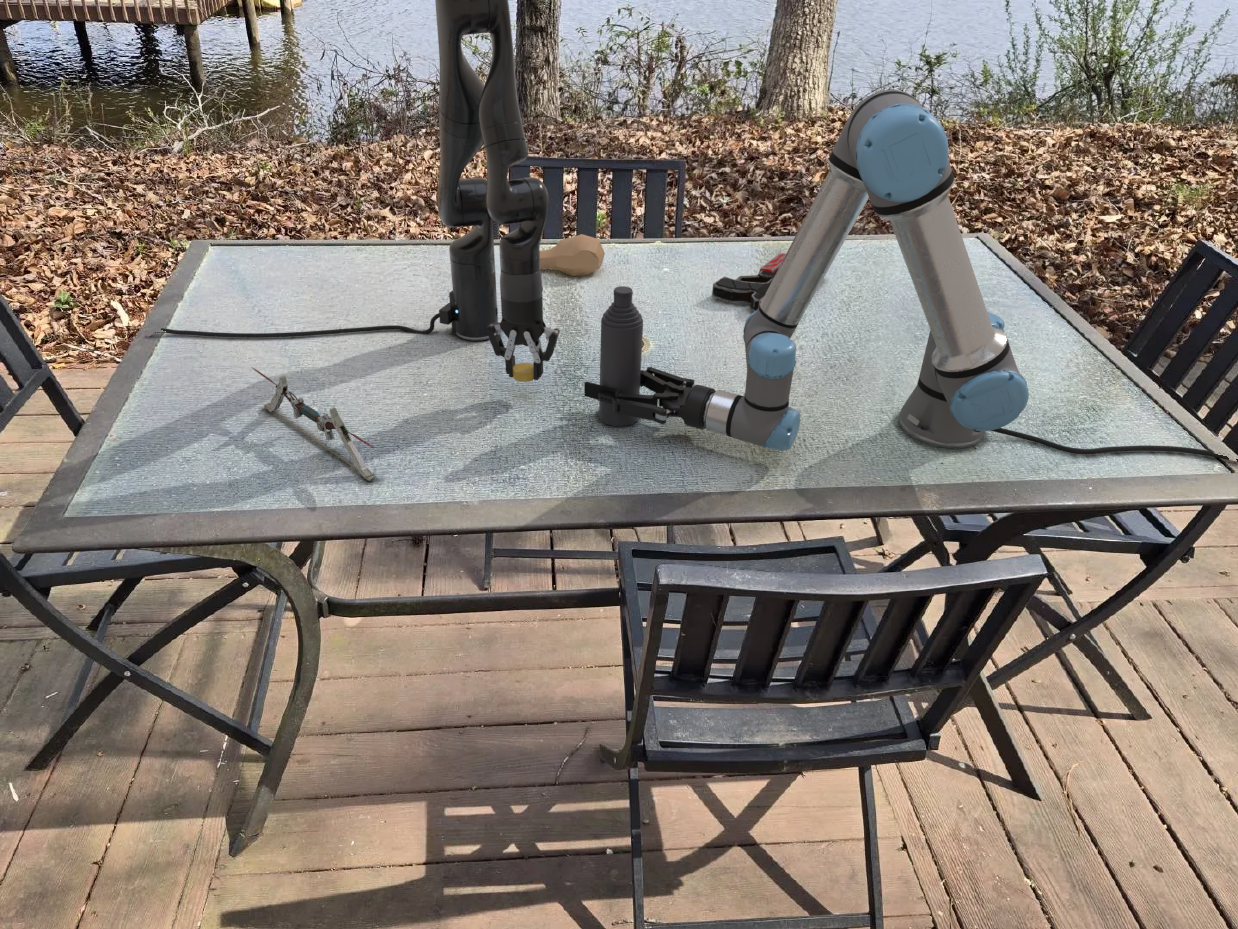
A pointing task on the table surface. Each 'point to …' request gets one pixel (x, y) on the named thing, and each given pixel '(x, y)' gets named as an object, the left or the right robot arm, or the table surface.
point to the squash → (574, 256)
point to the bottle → (620, 353)
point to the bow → (319, 423)
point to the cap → (523, 372)
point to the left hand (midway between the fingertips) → (524, 376)
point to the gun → (748, 285)
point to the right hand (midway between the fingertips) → (596, 379)
